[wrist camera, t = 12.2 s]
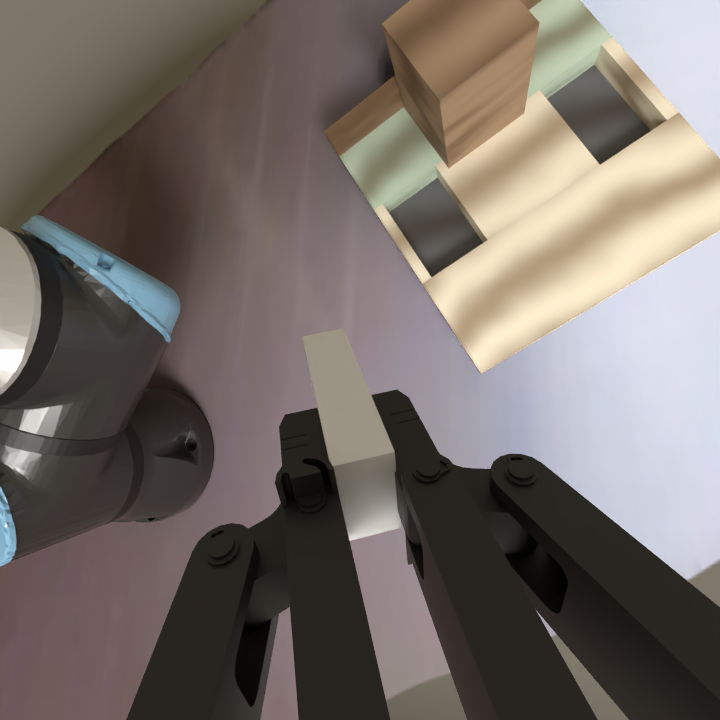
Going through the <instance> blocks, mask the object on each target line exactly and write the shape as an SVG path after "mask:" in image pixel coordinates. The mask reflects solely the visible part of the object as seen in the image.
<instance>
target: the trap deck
mask: <svg viewBox="0 0 720 720" xmlns="http://www.w3.org/2000/svg"><path fill="white" fill-rule="evenodd" d="M521 2H522V3H523V4H524V5H525V6H526V7H527V9H528V10H529V11H530V12H531V13H532V14H533V16H534V17H535V18H536V19H537V20H538V21H539V29H538V35H537V41H536V47H535V53H534V59H533V65H532V71H531V76H530V82H529V88H528V94H527V100H526V106H525V112H524V114H523V115H521V116H520V117H519V118H517V119H516V120H515V121H513V122H512V123H510V124H509V125H508V126H506V127H505V128H504V129H502V130H501V131H500V132H498V133H497V134H495V135H494V136H493V137H491V138H490V139H489V140H487V141H486V142H484V143H483V144H482V145H480V146H479V147H478V148H476V149H475V150H474V151H472V152H471V153H469V154H468V155H467V156H465V157H464V158H463V159H461V160H460V161H459V162H457V163H456V164H454V165H453V166H452V167H450V168H448V167H447V166H446V164H445V163H444V162H443V160H442V159H441V157H440V156H439V155H438V153H437V152H436V151H435V149H434V148H433V146H432V145H431V144H430V142H429V141H428V140H427V138H426V137H425V136H424V134H423V133H422V131H421V130H420V129H419V127H418V126H417V125H416V123H415V122H414V120H413V119H412V118H411V116H410V115H409V114H408V112H407V111H406V110H405V108H404V105H403V102H402V98H401V94H400V90H399V87H398V83H397V79H396V75H394V76H393V77H392V78H391V79H389V80H388V81H387V82H385V83H384V84H383V85H382V86H380V87H379V88H378V89H377V90H375V91H374V92H373V93H372V94H370V95H369V96H368V97H367V98H365V99H364V100H363V101H362V102H360V103H359V104H358V105H357V106H355V107H354V108H353V109H352V110H350V111H349V112H348V113H346V114H345V115H344V116H343V117H341V118H340V119H339V120H338V121H336V122H335V123H334V124H333V125H331V126H330V127H329V128H328V129H326V130H325V131H324V133H325V135H326V136H327V138H328V139H329V141H330V143H331V144H332V146H333V148H334V149H335V151H336V153H337V154H338V156H339V158H340V159H341V161H342V162H343V164H344V165H345V167H346V168H347V170H348V172H349V173H350V175H351V176H352V178H353V179H354V181H355V182H356V184H357V185H358V187H359V188H360V190H361V191H362V193H363V194H364V196H365V198H366V199H367V201H368V202H369V204H370V205H371V207H372V208H373V210H374V211H375V213H376V214H377V216H378V217H379V219H380V220H381V222H382V224H383V225H384V227H385V228H386V230H387V231H388V233H389V234H390V236H391V237H392V239H393V240H394V242H395V243H396V245H397V246H398V248H399V250H400V251H401V253H402V254H403V256H404V257H405V259H406V260H407V262H408V263H409V265H410V266H411V268H412V269H413V271H414V272H415V274H416V276H417V277H418V279H419V280H420V282H421V283H422V285H423V286H424V288H425V289H426V291H427V292H428V294H429V295H430V297H431V298H432V300H433V302H434V303H435V305H436V306H437V308H438V309H439V311H440V312H441V314H442V315H443V317H444V318H445V320H446V321H447V323H448V324H449V326H450V328H451V329H452V331H453V332H454V334H455V335H456V337H457V338H458V340H459V341H460V343H461V344H462V346H463V347H464V349H465V350H466V352H467V354H468V355H469V357H470V358H471V360H472V361H473V363H474V364H475V366H476V367H477V369H478V370H479V372H480V373H481V374H482V373H484V372H485V371H487V370H489V369H490V368H492V367H494V366H495V365H497V364H499V363H500V362H502V361H504V360H505V359H507V358H509V357H510V356H512V355H514V354H515V353H517V352H519V351H520V350H522V349H524V348H525V347H527V346H529V345H530V344H532V343H534V342H535V341H537V340H539V339H541V338H542V337H544V336H546V335H547V334H549V333H551V332H552V331H554V330H556V329H557V328H559V327H561V326H562V325H564V324H566V323H567V322H569V321H571V320H572V319H574V318H576V317H577V316H579V315H581V314H582V313H584V312H586V311H587V310H589V309H591V308H592V307H594V306H596V305H597V304H599V303H601V302H602V301H604V300H606V299H607V298H609V297H611V296H612V295H614V294H616V293H617V292H619V291H621V290H622V289H624V288H626V287H627V286H629V285H631V284H632V283H634V282H636V281H637V280H639V279H641V278H642V277H644V276H646V275H647V274H649V273H651V272H652V271H654V270H656V269H657V268H659V267H661V266H662V265H664V264H666V263H667V262H669V261H671V260H672V259H674V258H676V257H677V256H679V255H681V254H682V253H684V252H686V251H687V250H689V249H691V248H692V247H694V246H696V245H697V244H699V243H701V242H702V241H704V240H706V239H707V238H709V237H711V236H712V235H714V234H716V233H717V232H719V231H720V159H719V157H718V156H717V155H716V154H715V153H714V152H713V151H712V149H711V148H710V147H709V146H708V145H707V144H706V143H705V142H704V140H703V139H702V138H701V137H700V136H699V135H698V134H697V132H696V131H695V130H694V129H693V128H692V127H691V126H690V125H689V123H688V122H687V121H686V120H685V119H684V118H683V117H682V115H681V114H680V113H679V112H678V111H677V110H676V109H675V108H674V106H673V105H672V104H671V103H670V102H669V101H668V100H667V98H666V97H665V96H664V95H663V94H662V93H661V92H660V91H659V89H658V88H657V87H656V86H655V85H654V84H653V83H652V81H651V80H650V79H649V78H648V77H647V76H646V75H645V74H644V72H643V71H642V70H641V69H640V68H639V67H638V66H637V64H636V63H635V62H634V61H633V60H632V59H631V58H630V57H629V55H628V54H627V53H626V52H625V51H624V50H623V49H622V47H621V46H620V45H619V44H618V43H617V42H616V41H615V40H614V38H613V37H612V36H611V35H610V34H609V33H608V32H607V30H606V29H605V28H604V27H603V26H602V25H601V24H600V23H599V21H598V20H597V19H596V18H595V17H594V16H593V15H592V13H591V12H590V11H589V10H588V9H587V8H586V7H585V6H584V4H583V3H582V2H581V1H580V0H521Z"/></svg>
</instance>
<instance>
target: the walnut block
mask: <svg viewBox="0 0 720 720" xmlns="http://www.w3.org/2000/svg"><path fill="white" fill-rule="evenodd" d="M382 27H383V30H384V34H385V38H386V42H387V45H388V49H389V53H390V57H391V60H392V64H393V68H394V72H395V75H396V79H397V83H398V87H399V90H400V94H401V98H402V102H403V105H404V108H405V110H406V111H407V112H408V114H409V115H410V116H411V118H412V119H413V120H414V122H415V123H416V125H417V126H418V127H419V129H420V130H421V131H422V133H423V134H424V136H425V137H426V138H427V140H428V141H429V142H430V144H431V145H432V146H433V148H434V149H435V151H436V152H437V153H438V155H439V156H440V157H441V159H442V160H443V162H444V163H445V164H446V166H447V167H448V168H450V167H452V166H453V165H454V164H456V163H457V162H459V161H460V160H461V159H463V158H464V157H465V156H467V155H468V154H469V153H471V152H472V151H474V150H475V149H476V148H478V147H479V146H480V145H482V144H483V143H484V142H486V141H487V140H489V139H490V138H491V137H493V136H494V135H495V134H497V133H498V132H500V131H501V130H502V129H504V128H505V127H506V126H508V125H509V124H510V123H512V122H513V121H515V120H516V119H517V118H519V117H520V116H521V115H523V114H524V112H525V106H526V100H527V94H528V88H529V82H530V76H531V71H532V65H533V59H534V53H535V47H536V41H537V35H538V29H539V21H538V20H537V19H536V18H535V17H534V16H533V14H532V13H531V12H530V11H529V10H528V9H527V7H526V6H525V5H524V4H523V3H522V2H521V0H410V1H408V2H407V3H406V4H405V5H404V6H402V7H401V8H400V9H399V10H398V11H396V12H395V13H394V14H393V15H392V16H391V17H389V18H388V19H387V20H386V21H385V22H383V23H382Z"/></svg>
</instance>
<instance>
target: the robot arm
mask: <svg viewBox="0 0 720 720" xmlns="http://www.w3.org/2000/svg"><path fill="white" fill-rule="evenodd" d="M180 308H181V306H180V299H179V297H178V295H177V294H176V292H175V291H174V290H173V289H172V288H170V287H169V286H167V285H166V284H164V283H163V282H161V281H159V280H158V279H156V278H154V277H152V276H151V275H149V274H147V273H146V272H144V271H142V270H140V269H139V268H137V267H135V266H133V265H132V264H130V263H128V262H126V261H124V260H123V259H121V258H119V257H117V256H116V255H114V254H112V253H110V252H108V251H107V250H105V249H103V248H101V247H99V246H97V245H96V244H94V243H92V242H90V241H89V240H87V239H85V238H83V237H81V236H79V235H78V234H76V233H74V232H72V231H70V230H68V229H66V228H65V227H63V226H61V225H59V224H57V223H55V222H53V221H51V220H48V219H46V218H45V217H43V216H38V215H37V216H33V217H32V218H30V220H29V221H28V222H27V223H25V224H24V225H22V234H20V233H17V232H14V231H11V230H8V229H6V228H3V227H0V566H3V565H5V564H7V563H9V562H10V561H12V560H15V559H17V558H20V557H23V556H25V555H28V554H30V553H33V552H35V551H38V550H41V549H43V548H46V547H48V546H51V545H53V544H56V543H59V542H61V541H64V540H66V539H69V538H71V537H74V536H77V535H79V534H82V533H84V532H87V531H89V530H92V529H95V528H97V527H99V526H102V525H105V524H108V523H110V522H132V521H136V522H155V521H160V520H164V519H166V518H169V517H171V516H174V515H176V514H178V513H181V512H182V511H184V510H186V509H187V508H189V507H190V506H191V505H192V504H193V503H194V502H196V500H197V499H198V498H199V497H200V495H201V494H202V493H203V491H204V489H205V487H206V485H207V483H208V481H209V478H210V475H211V471H212V467H213V459H214V447H213V440H212V435H211V431H210V428H209V425H208V423H207V421H206V419H205V417H204V415H203V414H202V412H201V411H200V409H199V408H198V407H197V406H196V404H195V403H194V402H193V401H191V400H190V399H189V398H188V397H186V396H185V395H183V394H181V393H179V392H177V391H174V390H171V389H164V388H146V387H147V385H148V383H149V381H150V379H151V377H152V375H153V373H154V371H155V369H156V367H157V365H158V363H159V361H160V359H161V357H162V355H163V353H164V351H165V349H166V347H167V345H168V343H170V341H171V333H172V331H173V328H174V326H175V323H176V321H177V318H178V316H179V313H180ZM302 337H303V342H304V347H305V352H306V357H307V362H308V368H309V373H310V378H311V383H312V388H313V393H314V398H315V403H316V407H317V408H314V409H310V410H305V411H300V412H296V413H291V414H286V415H285V416H284V418H283V420H282V422H281V424H280V426H279V431H280V441H281V442H280V443H281V455H282V467H281V469H280V470H279V471H278V473H277V475H276V480H275V484H276V488H277V491H278V495H279V498H280V501H281V504H280V505H279V507H278V508H277V510H276V511H275V512H274V513H273V514H272V515H271V516H269V517H268V518H266V519H265V520H263V521H261V522H260V523H258V524H256V525H254V526H252V527H250V528H249V529H248V528H246V527H245V526H243V525H240V524H233V523H231V524H226V525H221V526H219V527H217V528H215V529H213V530H211V531H209V532H208V533H207V534H206V535H205V536H203V537H202V538H201V539H200V540H199V541H198V543H197V545H196V546H195V548H194V550H193V551H192V554H191V557H190V559H189V562H188V564H187V567H186V569H185V572H184V574H183V577H182V580H181V582H180V585H179V587H178V590H177V592H176V595H175V597H174V600H173V602H172V605H171V608H170V610H169V613H168V615H167V618H166V620H165V623H164V625H163V628H162V630H161V633H160V636H159V638H158V641H157V643H156V646H155V648H154V651H153V653H152V656H151V658H150V661H149V664H148V666H147V669H146V671H145V674H144V676H143V679H142V681H141V684H140V687H139V689H138V692H137V694H136V697H135V699H134V702H133V704H132V707H131V709H130V712H129V715H128V717H127V720H260V718H261V712H262V707H263V701H264V695H265V690H266V684H267V678H268V673H269V667H270V662H271V656H272V650H273V645H274V639H275V633H276V628H277V622H278V617H279V613H281V612H282V611H284V610H285V609H287V608H288V607H290V612H291V625H292V638H293V651H294V664H295V676H296V689H297V702H298V715H299V720H390V717H389V712H388V708H387V703H386V699H385V695H384V690H383V686H382V681H381V677H380V673H379V668H378V664H377V660H376V655H375V651H374V646H373V642H372V638H371V633H370V629H369V624H368V620H367V616H366V611H365V607H364V602H363V598H362V594H361V589H360V585H359V580H358V576H357V572H356V567H355V563H354V559H353V554H352V550H351V545H350V541H351V540H355V539H359V538H362V537H366V536H370V535H374V534H378V533H382V532H386V531H390V530H393V529H397V528H401V525H400V519H401V521H402V524H403V527H404V530H405V535H406V549H407V560H408V565H409V564H412V563H413V566H414V569H415V572H416V575H417V577H418V580H419V583H420V586H421V589H422V592H423V595H424V597H425V600H426V603H427V606H428V609H429V612H430V615H431V617H432V620H433V623H434V626H435V629H436V632H437V635H438V637H439V640H440V643H441V646H442V649H443V652H444V655H445V657H446V660H447V663H448V666H449V669H450V672H451V675H452V677H453V680H454V683H455V686H456V689H457V692H458V695H459V698H460V700H461V703H462V706H463V709H464V712H465V715H466V718H467V720H597V718H596V716H595V714H594V712H593V711H592V709H591V707H590V705H589V704H588V702H587V700H586V698H585V697H584V695H583V694H582V691H581V690H580V688H579V686H578V684H577V683H576V681H575V679H574V677H573V675H572V673H571V672H570V670H569V668H568V666H567V665H566V663H565V661H564V659H563V658H562V656H561V654H560V652H559V650H558V649H557V647H556V645H555V643H554V642H553V640H552V638H551V636H550V634H549V633H548V631H547V629H546V627H545V626H544V624H543V622H542V620H541V618H540V617H539V615H538V613H539V614H540V615H541V616H542V617H543V618H544V620H545V621H546V622H547V623H548V624H549V626H550V627H551V628H552V629H553V630H554V631H555V633H556V634H557V635H558V636H559V637H560V639H561V640H562V641H563V642H564V643H565V644H566V646H567V647H568V648H569V649H570V650H571V651H572V653H573V654H574V655H575V656H576V657H577V659H579V661H580V662H581V663H582V664H583V666H584V667H585V668H586V669H587V670H588V672H589V673H590V674H591V675H592V676H593V677H594V679H595V680H596V681H597V682H598V683H599V685H600V686H601V687H602V688H603V689H604V690H605V692H606V693H607V694H608V695H609V696H610V698H611V699H612V700H613V701H614V702H615V703H616V705H617V706H618V707H619V708H620V709H621V710H622V712H623V713H624V714H625V715H626V716H627V717H628V719H629V720H720V607H719V606H718V605H716V604H715V603H714V602H712V601H711V600H710V599H709V598H708V597H706V596H705V595H704V594H703V593H701V592H700V591H699V590H698V589H696V588H695V587H694V586H693V585H692V584H690V583H689V582H688V581H687V580H685V579H684V578H683V577H682V576H680V575H679V574H678V573H677V572H676V571H674V570H673V569H672V568H671V567H669V566H668V565H667V564H666V563H664V562H663V561H662V560H661V559H660V558H658V557H657V556H656V555H655V554H653V553H652V552H651V551H650V550H648V549H647V548H646V547H645V546H643V545H642V544H641V543H640V542H639V541H637V540H636V539H635V538H634V537H632V536H631V535H630V534H629V533H627V532H626V531H625V530H624V529H622V528H621V527H620V526H619V525H618V524H616V523H615V522H614V521H613V520H611V519H610V518H609V517H608V516H606V515H605V514H604V513H603V512H602V511H600V510H599V509H598V508H597V507H595V506H594V505H593V504H592V503H590V502H589V501H588V500H587V499H585V498H584V497H583V496H582V495H581V494H579V493H578V492H577V491H576V490H574V489H573V488H572V487H571V486H569V485H568V484H567V483H566V482H564V481H563V480H562V479H561V478H560V477H558V476H557V475H556V474H555V473H553V472H552V471H551V470H550V469H548V468H547V467H546V466H545V465H544V464H542V463H541V462H539V461H537V460H536V459H534V458H532V457H529V456H526V455H522V454H507V455H504V456H500V457H499V458H498V459H496V460H495V461H494V462H493V464H492V466H491V469H472V468H463V467H459V466H456V465H454V464H452V462H451V461H450V460H449V459H448V458H446V457H444V456H442V455H440V454H439V452H438V451H437V449H436V447H435V445H434V443H433V441H432V440H431V438H430V436H429V434H428V432H427V430H426V429H425V427H424V425H423V423H422V421H421V420H420V418H419V416H418V414H417V412H416V411H415V408H414V406H413V405H412V403H411V401H410V399H409V398H408V397H407V396H406V395H404V394H403V393H401V392H400V391H398V390H393V391H388V392H384V393H379V394H374V395H371V394H370V391H369V389H368V386H367V384H366V382H365V379H364V377H363V374H362V372H361V370H360V367H359V365H358V362H357V360H356V358H355V355H354V353H353V350H352V348H351V346H350V343H349V341H348V338H347V336H346V334H345V331H344V329H338V330H333V331H328V332H323V333H318V334H312V335H307V336H302ZM535 609H536V610H537V611H538V613H537V611H536V610H535Z"/></svg>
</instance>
